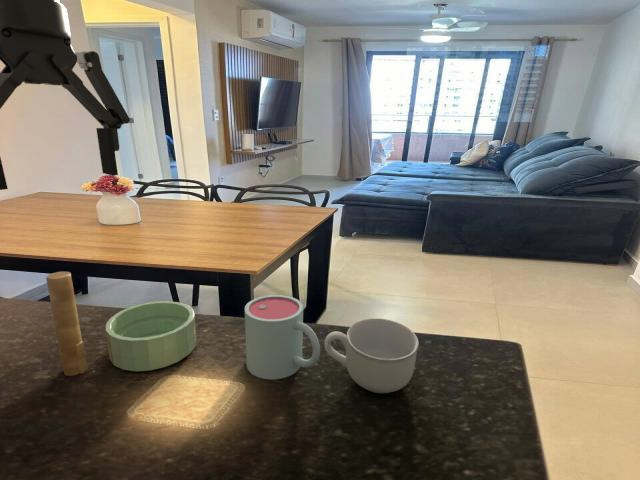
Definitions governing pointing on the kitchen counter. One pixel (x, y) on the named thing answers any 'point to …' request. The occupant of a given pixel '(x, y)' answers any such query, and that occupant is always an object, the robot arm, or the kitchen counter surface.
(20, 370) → the kitchen counter surface
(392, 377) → the teacup
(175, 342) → the bowl
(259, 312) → the mug
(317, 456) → the kitchen counter surface
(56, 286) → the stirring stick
